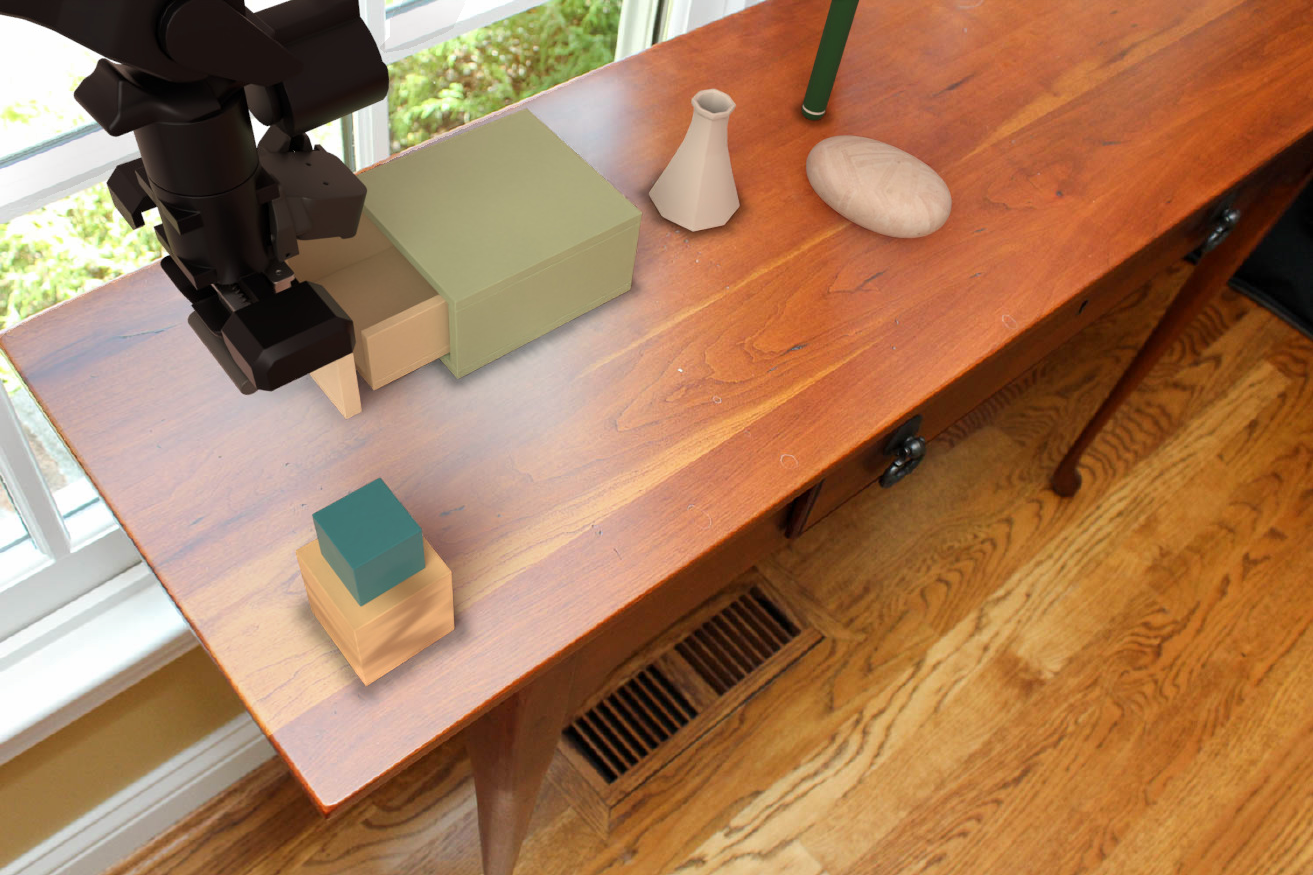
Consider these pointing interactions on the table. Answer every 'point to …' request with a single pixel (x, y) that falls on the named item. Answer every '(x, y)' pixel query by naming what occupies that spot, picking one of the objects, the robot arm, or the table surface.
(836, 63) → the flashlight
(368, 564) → the block
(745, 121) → the table surface
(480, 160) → the cabinet
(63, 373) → the table surface
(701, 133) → the flask
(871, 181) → the decorative stone
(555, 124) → the table surface
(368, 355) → the drawer
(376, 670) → the riser
